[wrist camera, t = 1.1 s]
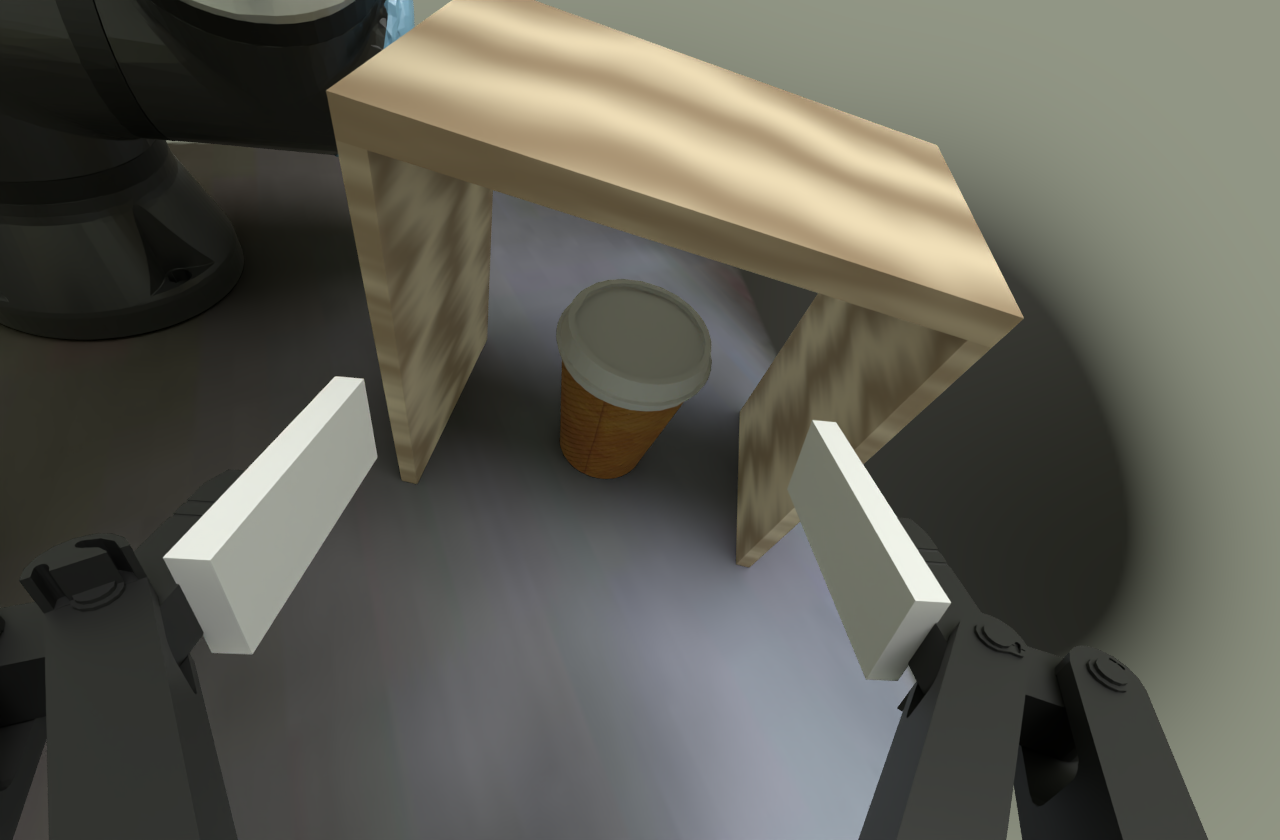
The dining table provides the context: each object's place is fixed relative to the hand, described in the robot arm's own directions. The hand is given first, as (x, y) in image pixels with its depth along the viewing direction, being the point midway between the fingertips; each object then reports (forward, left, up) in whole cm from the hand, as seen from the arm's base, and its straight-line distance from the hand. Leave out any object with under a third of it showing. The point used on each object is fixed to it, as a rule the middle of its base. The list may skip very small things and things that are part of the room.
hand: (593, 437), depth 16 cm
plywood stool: (-11, +8, -19) cm, 24 cm away
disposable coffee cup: (-11, +8, -20) cm, 24 cm away
